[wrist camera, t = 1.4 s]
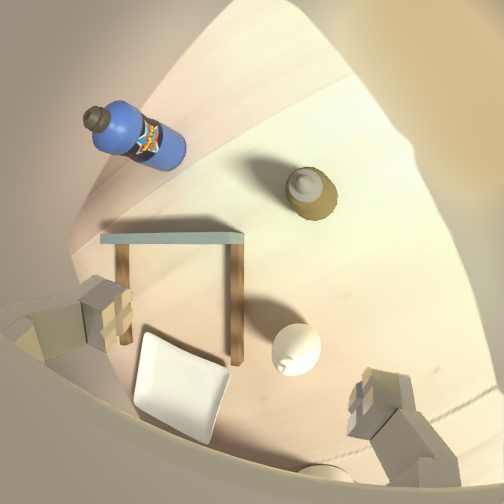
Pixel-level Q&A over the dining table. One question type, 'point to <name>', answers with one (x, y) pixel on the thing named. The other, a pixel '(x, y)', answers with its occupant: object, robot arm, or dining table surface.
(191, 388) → the salad plate
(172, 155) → the water bottle
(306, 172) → the squeeze bottle
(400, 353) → the dining table surface
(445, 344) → the dining table surface
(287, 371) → the white dust blower
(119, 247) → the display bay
